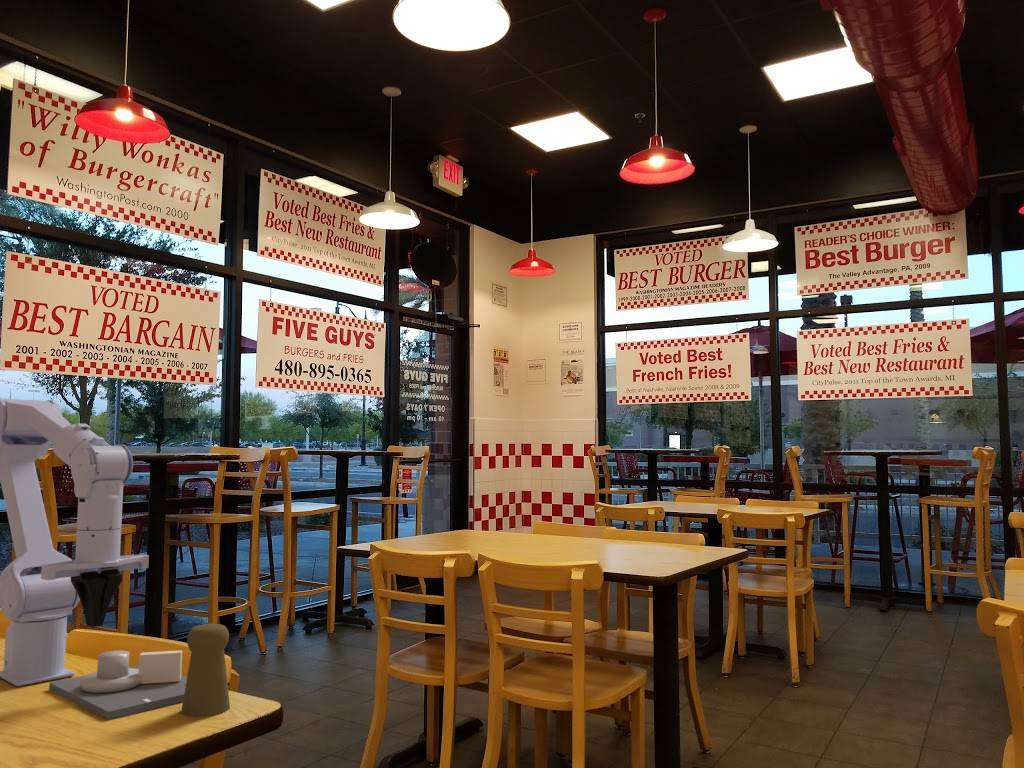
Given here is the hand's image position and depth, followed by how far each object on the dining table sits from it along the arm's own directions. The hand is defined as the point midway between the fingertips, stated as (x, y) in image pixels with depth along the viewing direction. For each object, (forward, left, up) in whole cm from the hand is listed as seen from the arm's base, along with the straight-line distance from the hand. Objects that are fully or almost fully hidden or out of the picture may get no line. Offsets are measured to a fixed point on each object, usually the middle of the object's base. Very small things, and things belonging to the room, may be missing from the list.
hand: (94, 625), depth 113 cm
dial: (+3, +4, -8) cm, 10 cm away
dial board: (+3, +4, -9) cm, 11 cm away
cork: (+19, +7, -10) cm, 22 cm away
